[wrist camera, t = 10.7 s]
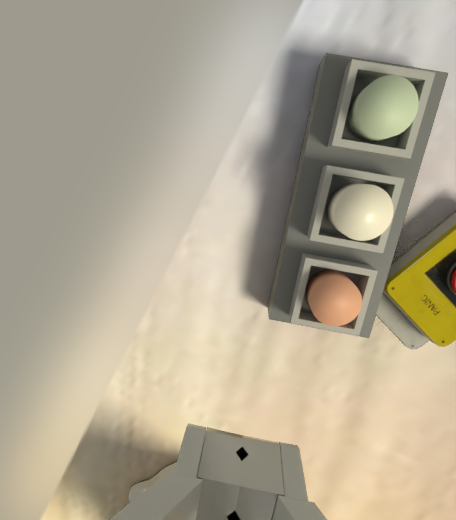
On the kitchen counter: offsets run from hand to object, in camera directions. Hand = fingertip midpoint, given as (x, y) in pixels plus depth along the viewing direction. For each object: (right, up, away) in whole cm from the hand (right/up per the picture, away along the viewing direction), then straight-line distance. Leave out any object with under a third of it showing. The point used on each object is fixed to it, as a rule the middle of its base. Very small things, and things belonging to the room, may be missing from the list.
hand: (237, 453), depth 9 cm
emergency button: (+22, +4, +26) cm, 34 cm away
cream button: (+11, +10, +20) cm, 25 cm away
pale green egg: (+12, +17, +19) cm, 29 cm away
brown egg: (+9, +2, +23) cm, 25 cm away
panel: (+11, +11, +25) cm, 29 cm away
